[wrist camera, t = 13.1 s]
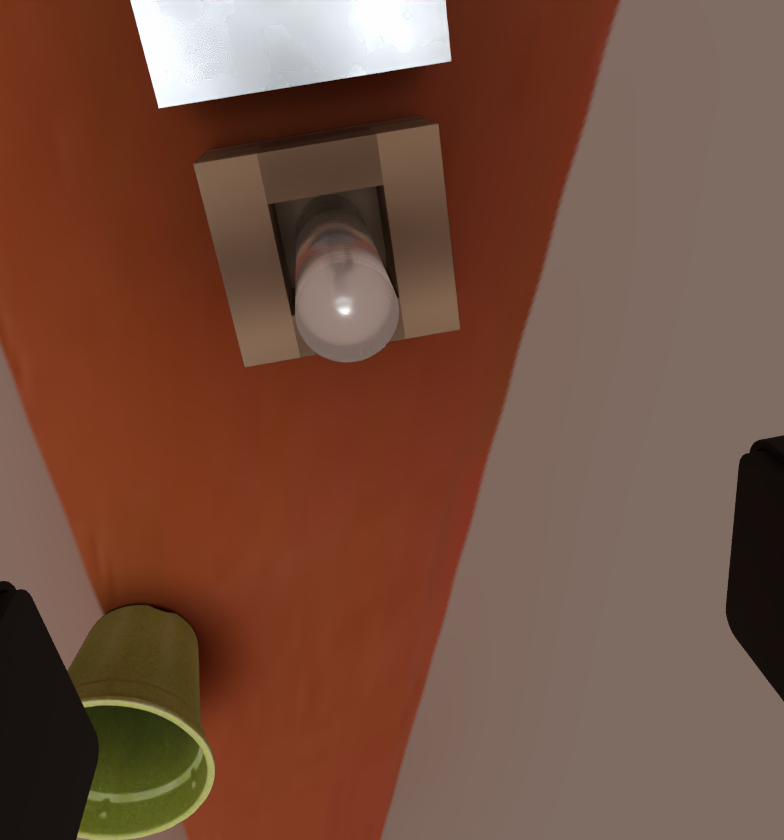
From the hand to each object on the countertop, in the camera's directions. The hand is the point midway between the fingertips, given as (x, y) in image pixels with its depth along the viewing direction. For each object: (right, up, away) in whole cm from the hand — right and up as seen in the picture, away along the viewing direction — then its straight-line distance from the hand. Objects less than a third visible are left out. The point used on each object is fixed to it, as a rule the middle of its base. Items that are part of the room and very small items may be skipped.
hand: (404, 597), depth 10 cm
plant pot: (-14, -10, +32) cm, 37 cm away
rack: (-3, +11, +23) cm, 26 cm away
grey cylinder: (-3, +11, +22) cm, 25 cm away
